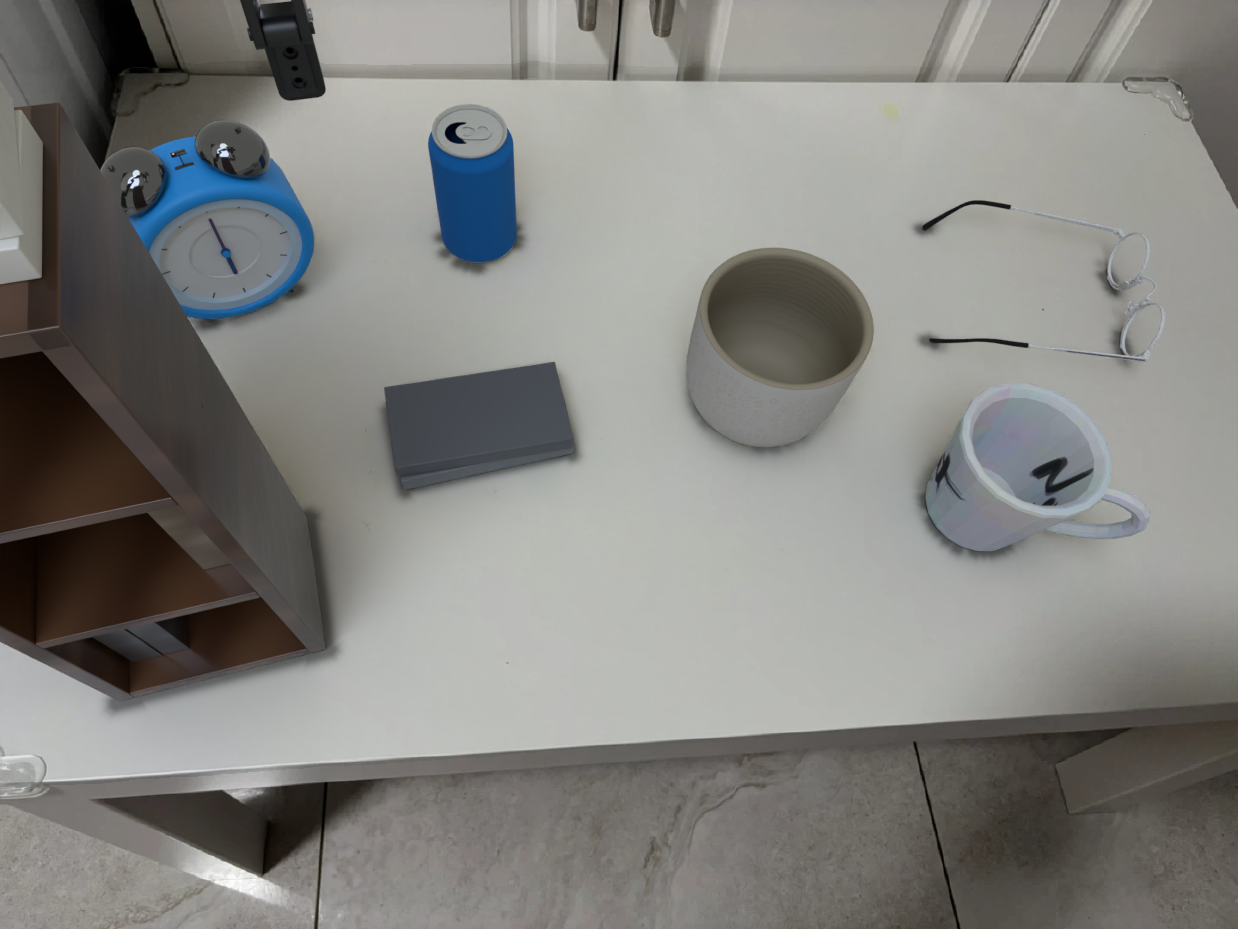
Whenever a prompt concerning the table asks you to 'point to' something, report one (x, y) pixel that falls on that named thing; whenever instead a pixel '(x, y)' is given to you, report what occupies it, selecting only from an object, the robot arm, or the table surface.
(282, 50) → the robot arm
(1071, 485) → the mug
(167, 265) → the alarm clock
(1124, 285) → the eyeglasses
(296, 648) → the bookcase
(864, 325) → the planter
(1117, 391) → the table surface
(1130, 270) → the table surface
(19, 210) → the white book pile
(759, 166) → the table surface
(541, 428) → the grey book pile
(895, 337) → the table surface
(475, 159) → the beverage can
